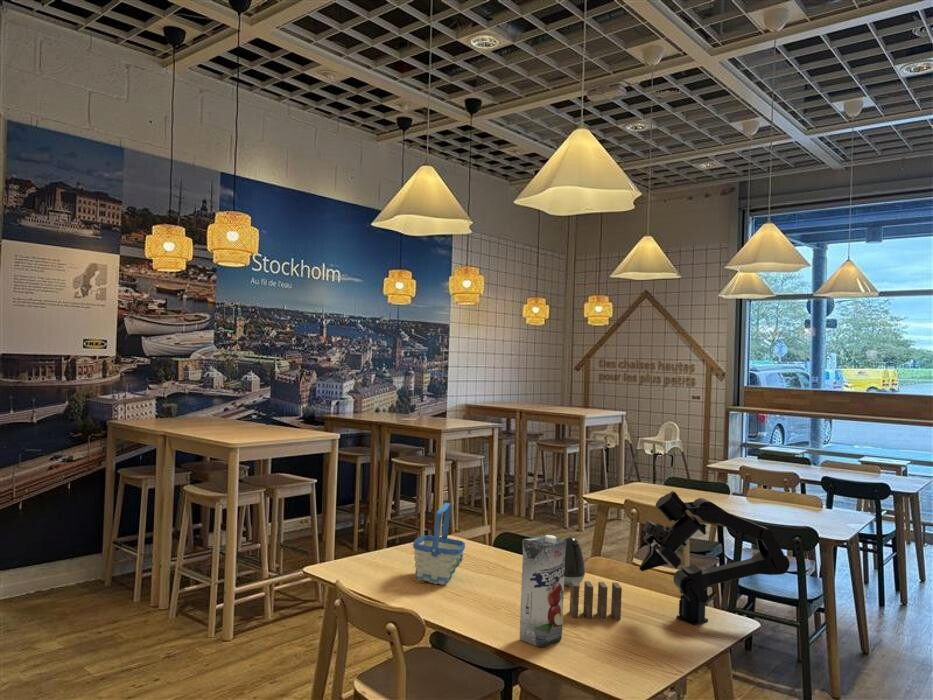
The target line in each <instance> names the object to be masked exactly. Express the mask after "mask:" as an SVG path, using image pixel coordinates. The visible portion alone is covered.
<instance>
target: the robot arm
mask: <svg viewBox="0 0 933 700" xmlns="http://www.w3.org/2000/svg"><path fill="white" fill-rule="evenodd" d="M655 507H656V508H657V509H658V510H659V511H660V513H661V514H662V515H663V516H664V517H665V518H666V519H667V520H668V521H669V522H671V521H673V522H674V523H673V524H672V525H671V526H669V525H666V526H665V527H664V525H663V524H660V523H659V522H657V523H653V522H652V521H650V520H648V519H647V520H646V521H645V524H643V527H642V529H641V530H642V531H644V533H646V534H645V535H644V536H643V539H644V540H645V541H646V542H647V553H646V555H645V556H644V559H643V560H642V561H641V563H640V565H639V568H638V569H639V571H641V572H645V571H648V570H652V569H654V568H657V567H658V568H659V567H661V566H665V565H666V566H668V565H669V563H670V565H672V567H673V568H674V569H678V568H679V566H680V565H681V564H682V560H681V558H680V557H679V556H678V555H677V553H676V552H677V551H678V550H679V549H680V548H681V547H686V546H687V542H688V540H690V539H691V538H692V537H693V536H694V535H695V534H696V533H697V532H700V533H701V534H703V535H706V534H707V531H706V527H707V524H705V523H703V522H706V523H711V524H715V525H716V524H717V525H721V526H722V525H723V526H726V527H728V528H731V529H733V530H735V531H739V532H741V533H743V534H746V535H748V536H751V537H753V538H755V539H756V544H757V545H756V546H757V549H758V552H756V553H755V554H754V555H753V556H752V557H749V558H747V559H743V560H740V561H735V562H731V563H726V564H722V565H718V566H714V567H709V568H703V569H701V568H700V567H698V566H697V564H691V565H688V566H680V569H678V570H677V571H675V574H674V575H673V584H674V586H675V587H676V588H678V590H679V593H680V599H679V601H678V603H679V604H678V615H676V619H679V620H681V621H684V622H686V623H689V624H692V625H699V624H703V623H706V622H708V621H709V619H708V618H707V617H706V603H707V601H708V599H709V595H708V594H707V592H706V590H707V589H708V588H709V587H711V586H714V585H717V584H723V583H726V582H730V581H734V580H738V579H739V580H740V579H743V578H747V577H751V576H756V575H768V576H776V575H777V576H778V575H780V576H781V575H785V574H786V573H788V571H789V569H790V560H789V558H788V557H787V556H786V555H785V554H784V551H783V549H782V548H781V546H780V545H779V542H778V541H777V540H776V538H775V535H774V533H773V531H772V529H769V528H767V527H766V526H764V525H761V524H760V525H759V524H758V523H757V524H756V523H754V522H752V521H750V520H748V519H744V518H742V517H740V516H738V515H735V514H733V513H729V512H727V511H726V510H724V509H723V508H722V507H720V506H719V505H717V504H715V503H714V502H712V501H710V500H708V499H706V498H705V497H698V498H697V499H695V500H694V501H688V502H684V501H683V500H682V499H681V498H680V497H679V495H678V493H677V492H676V491H674V490H671V491H670V492H669V493H666V494H665V495H663V496H661V497H660V498H659V499H657V501H656V502H655ZM688 513H689V514H691V515H692V516H690V515H689V514H688ZM696 517H697V518H698V519H700V520H701V521H703V522H701V521H699V520H698V519H697V518H696Z"/></svg>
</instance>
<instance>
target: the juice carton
mask: <svg viewBox="0 0 933 700" xmlns="http://www.w3.org/2000/svg"><path fill="white" fill-rule="evenodd" d="M565 551H566V541H565V540H564V539H561V538H557V536H555V535H551V534H546V535H545V534H544V535H540V536H538V537H535V538H524V539H522V564H521V565H522V569H521V570H522V572H521V594H520V596H521V597H520V615H519V616H520V619H519V640H520V641H523V642H526V643H528V644H530V645H534V646H536V647H538V648H543V647H547V646H548V645H550V644H553V643H556V642H559V641H561V640H562V638H563V623H564V622H563V619H564V595H565V585H564V572H565Z"/></svg>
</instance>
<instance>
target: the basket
mask: <svg viewBox="0 0 933 700" xmlns="http://www.w3.org/2000/svg"><path fill="white" fill-rule="evenodd" d="M451 507H452V503H449V502H444V503H443V505H442V506H441V508H439V509H438V510H437V511H436V513H435V517H434V518H435V519H434V520H435V521H434V529H433V535H422V536H418V537H417V538H416V539H414V540H413V542H412V547H413V549H414V551H413V554H414V557H413V559H414V562H415V563H414V567H415V575H416V580H419V581H425V582H429V583H431V584H435V585H438V584H439V585H442V586H443V585H447V584H448V583H449V581H450V578H452V575H454V574H455V572H456V569H457V567H460V564H462V562H463V560H464V553H463V552H464V550H465V548H466V543H465V542H464V541H462V540H459V539H454V538H448V536H449V528H450V527H449V526H450V518H451V509H452V508H451ZM443 513H444V515H443ZM442 517H443V518H442ZM442 519H443V522H442ZM441 525H442V532H441ZM440 534H441V535H440Z"/></svg>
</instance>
